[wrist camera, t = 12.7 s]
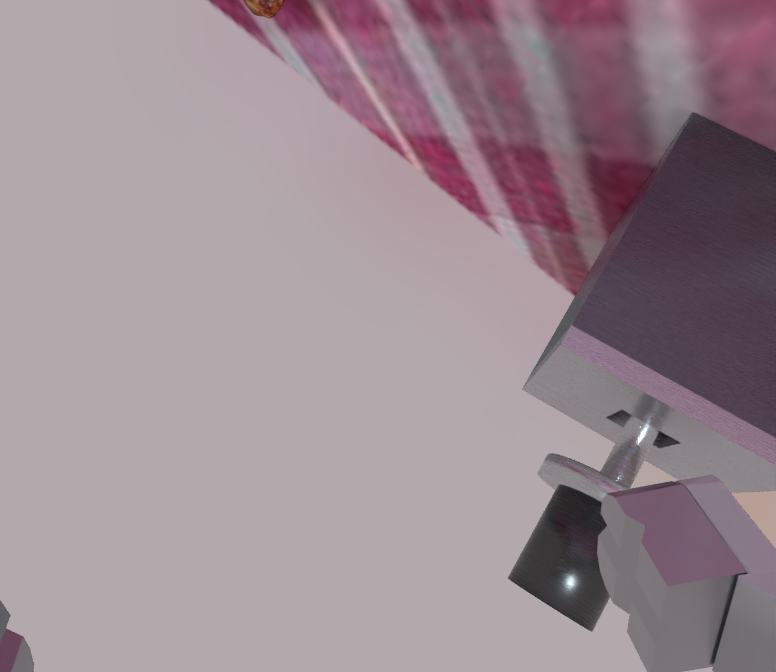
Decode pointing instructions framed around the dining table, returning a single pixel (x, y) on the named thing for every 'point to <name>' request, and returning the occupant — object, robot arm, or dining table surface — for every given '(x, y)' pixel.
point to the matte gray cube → (682, 316)
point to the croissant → (264, 7)
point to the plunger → (578, 527)
